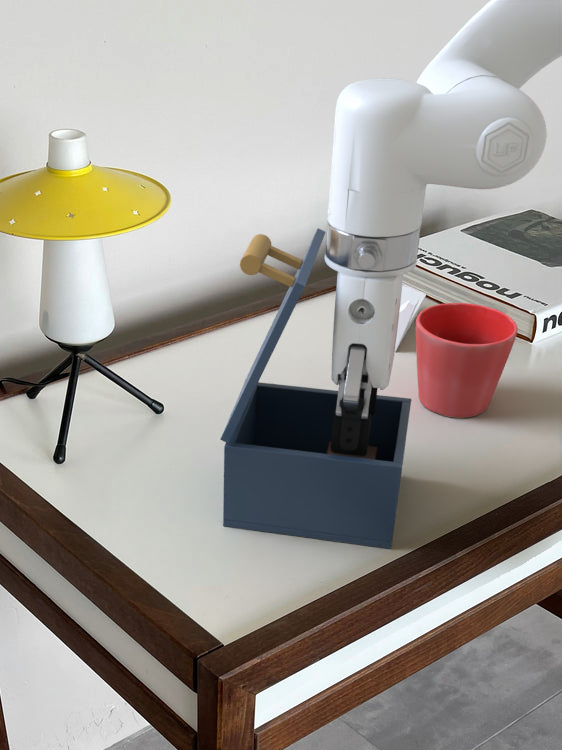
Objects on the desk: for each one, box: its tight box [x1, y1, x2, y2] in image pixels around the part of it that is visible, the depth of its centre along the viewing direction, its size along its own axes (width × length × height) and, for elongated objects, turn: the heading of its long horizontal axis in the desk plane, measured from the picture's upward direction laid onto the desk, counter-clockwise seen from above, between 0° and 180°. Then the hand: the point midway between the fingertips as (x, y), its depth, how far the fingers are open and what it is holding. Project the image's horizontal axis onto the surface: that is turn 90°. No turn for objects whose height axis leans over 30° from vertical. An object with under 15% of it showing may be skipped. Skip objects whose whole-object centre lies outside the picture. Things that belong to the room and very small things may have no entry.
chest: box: [222, 381, 412, 550], centre depth 96 cm, size 16×13×9 cm
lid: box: [220, 228, 327, 444], centre depth 90 cm, size 16×13×6 cm
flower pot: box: [415, 302, 519, 419], centre depth 111 cm, size 11×11×10 cm
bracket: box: [395, 283, 427, 353], centre depth 128 cm, size 13×7×8 cm, turn 157°
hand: (353, 430), depth 93 cm, fingers open, 6 cm apart
